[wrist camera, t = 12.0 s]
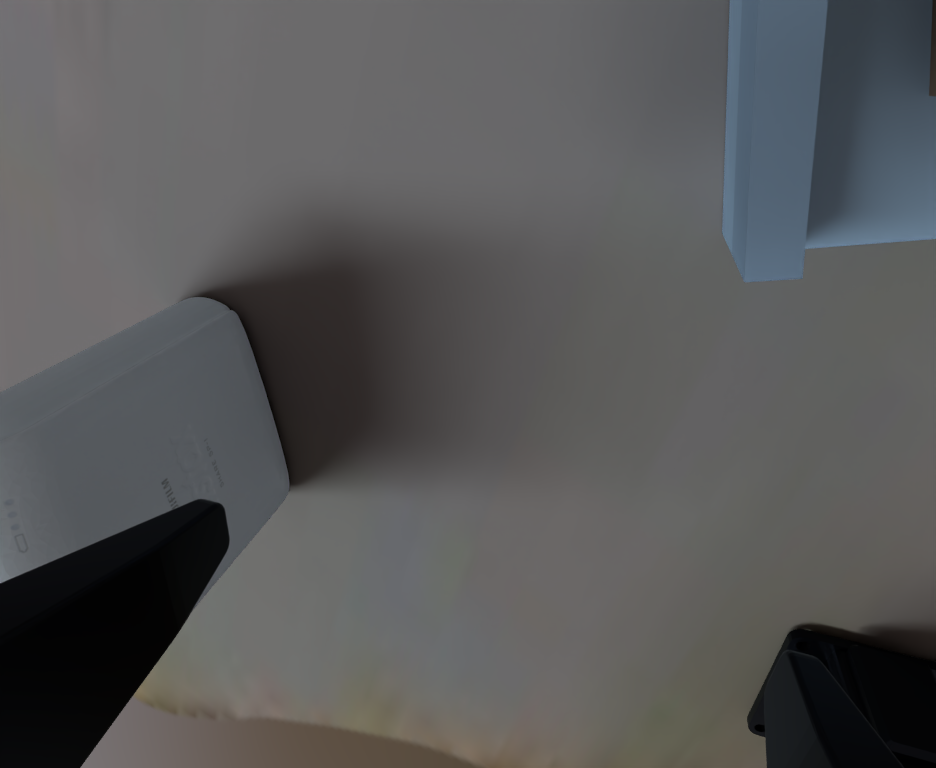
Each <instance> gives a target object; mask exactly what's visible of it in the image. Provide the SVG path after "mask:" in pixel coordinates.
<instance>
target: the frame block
mask: <svg viewBox="0 0 936 768" xmlns="http://www.w3.org/2000/svg"><path fill="white" fill-rule="evenodd" d="M929 96H936V0H933V3H932V31H931V58H930V85H929Z"/></svg>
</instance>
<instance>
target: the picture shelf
mask: <svg viewBox="0 0 936 768" xmlns="http://www.w3.org/2000/svg"><path fill="white" fill-rule="evenodd" d="M932 3H933V0H730V10H729V41H728V72H727V103H726V133H725V164H724V195H723V226H722V234H723V236H724V238H725V240H726V242H727V245H728V247H729V249H730V251H731V254H732V256H733V258H734V260H735V262H736V265H737V267H738V269H739V271H740V273H741V276H742V278H743V280H744V282H756V281H772V280H788V279H802V276H803V266H804V255H805V249H809V248H822V247H835V246H848V245H861V244H875V243H888V242H901V241H914V240H927V239H936V96H929V85H930V58H931V31H932Z"/></svg>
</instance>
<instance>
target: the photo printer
mask: <svg viewBox="0 0 936 768" xmlns="http://www.w3.org/2000/svg"><path fill="white" fill-rule="evenodd" d="M288 492H289V475H288V470H287V466H286V462H285V458H284V454H283V450H282V446H281V443H280V439H279V435H278V432H277V428H276V425H275V422H274V418H273V415H272V412H271V408H270V405H269V402H268V398H267V395H266V392H265V388H264V385H263V382H262V379H261V376H260V373H259V370H258V367H257V364H256V361H255V358H254V355H253V352H252V349H251V346H250V343H249V340H248V337H247V335H246V332H245V330H244V327H243V325H242V323H241V321H240V319H239V317H238V315H237V314H236V312H235V311H233V310H230V309H229V308H228V307H227V306H226V305H224V304H222V303H220V302H218V301H216V300H213V299H209V298H205V297H192V298H187V299H185V300H182V301H180V302H178V303H176V304H174V305H172V306H170V307H168V308H166V309H165V310H163V311H161V312H159V313H157V314H155V315H153V316H151V317H149V318H147V319H145V320H143V321H141V322H139V323H137V324H135V325H133V326H131V327H129V328H127V329H125V330H123V331H121V332H119V333H117V334H115V335H113V336H111V337H109V338H107V339H105V340H103V341H101V342H99V343H97V344H95V345H93V346H91V347H89V348H87V349H85V350H83V351H82V352H80V353H78V354H76V355H74V356H72V357H70V358H68V359H66V360H64V361H62V362H60V363H58V364H56V365H54V366H52V367H50V368H48V369H46V370H44V371H42V372H40V373H38V374H36V375H34V376H32V377H30V378H28V379H26V380H24V381H22V382H20V383H18V384H16V385H14V386H12V387H10V388H8V389H6V390H4V391H2V392H0V583H2V582H4V581H7V580H9V579H11V578H14V577H16V576H18V575H21V574H23V573H25V572H28V571H30V570H32V569H35V568H37V567H39V566H42V565H44V564H47V563H49V562H51V561H54V560H56V559H58V558H61V557H63V556H65V555H68V554H70V553H72V552H75V551H77V550H79V549H82V548H84V547H86V546H89V545H91V544H93V543H96V542H98V541H100V540H103V539H105V538H107V537H110V536H112V535H114V534H117V533H119V532H121V531H124V530H126V529H128V528H131V527H133V526H136V525H138V524H140V523H143V522H145V521H147V520H150V519H152V518H154V517H157V516H159V515H161V514H164V513H166V512H168V511H171V510H173V509H175V508H178V507H180V506H182V505H185V504H187V503H189V502H192V501H194V500H197V499H206V500H210V501H214V502H218V503H220V504H222V505H223V507H224V508H225V512H226V518H227V524H228V530H229V536H230V542H229V547H228V550H227V552H226V554H225V556H224V558H223V560H222V561H221V563H220V565H219V566H218V568H217V570H216V571H215V573H214V575H213V576H212V578H211V580H210V581H209V583H208V585H207V587H206V588H205V590H204V592H203V593H202V595H201V597H200V598H199V600H198V602H197V603H196V605H195V607H196V606H197V605H198V603H199V602H200V601H201V600H202V599H203V597H204V596H205V595H206V594H207V592H208V591H209V590H210V589H211V587H212V586H213V585H214V584H215V583H216V582H217V580H218V579H219V578H220V577H221V576H222V575H223V573H224V572H225V571H226V570H227V569H228V567H229V566H230V565H231V564H232V563H233V561H234V560H235V559H236V558H237V557H238V555H239V554H240V553H241V552H242V551H243V549H244V548H245V547H246V546H247V545H248V544H249V542H250V541H251V540H252V539H253V538H254V536H255V535H256V534H257V533H258V532H259V530H260V529H261V528H262V527H263V526H264V525H265V523H266V522H267V521H268V520H269V519H270V517H271V516H272V515H273V513H274V512H275V511H276V510H277V509H278V507H279V506H280V505H281V504H282V502H283V501H284V500H285V498H286V496H287V495H288ZM195 607H194V608H195ZM194 608H193V609H194Z"/></svg>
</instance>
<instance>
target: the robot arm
mask: <svg viewBox="0 0 936 768" xmlns="http://www.w3.org/2000/svg"><path fill="white" fill-rule="evenodd" d="M229 542H230V536H229V530H228V524H227V518H226V512H225V508H224V507H223V505H222V504H220V503H218V502H214V501H210V500H206V499H197V500H194V501H192V502H189V503H187V504H185V505H182V506H180V507H178V508H175V509H173V510H171V511H168V512H166V513H164V514H161V515H159V516H157V517H154V518H152V519H150V520H147V521H145V522H143V523H140V524H138V525H136V526H133V527H131V528H128V529H126V530H124V531H121V532H119V533H117V534H114V535H112V536H110V537H107V538H105V539H103V540H100V541H98V542H96V543H93V544H91V545H89V546H86V547H84V548H82V549H79V550H77V551H75V552H72V553H70V554H68V555H65V556H63V557H61V558H58V559H56V560H54V561H51V562H49V563H47V564H44V565H42V566H39V567H37V568H35V569H32V570H30V571H28V572H25V573H23V574H21V575H18V576H16V577H14V578H11V579H9V580H7V581H4V582H2V583H0V768H80V767H81V766H82V764H83V763H84V762H85V760H86V759H87V758H88V756H89V755H90V754H91V752H92V751H93V749H94V748H95V747H96V745H97V744H98V743H99V741H100V740H101V738H102V737H103V736H104V734H105V733H106V732H107V730H108V729H109V728H110V726H111V725H112V723H113V722H114V721H115V719H116V718H117V717H118V715H119V713H121V711H122V710H123V708H124V707H125V706H126V704H127V703H128V702H129V700H130V699H131V697H132V696H133V695H134V693H135V692H136V691H137V689H138V688H139V687H140V685H141V684H142V682H143V681H144V680H145V678H146V677H147V676H148V674H149V673H150V671H151V670H152V669H153V667H154V666H155V665H156V663H157V662H158V661H159V659H160V658H161V656H162V655H163V654H164V652H165V651H166V650H167V648H168V647H169V645H170V644H171V643H172V641H173V640H174V638H175V637H176V635H177V634H178V633H179V631H180V630H181V628H182V626H183V625H184V623H185V622H186V620H187V619H188V617H189V615H190V613H191V612H192V610H193V608H194V607H195V605H196V603H197V602H198V600H199V598H200V597H201V595H202V593H203V592H204V590H205V588H206V587H207V585H208V583H209V581H210V580H211V578H212V576H213V575H214V573H215V571H216V570H217V568H218V566H219V565H220V563H221V561H222V560H223V558H224V556H225V554H226V552H227V550H228V547H229ZM801 642H803V643H801ZM747 722H748V728H749V730H750V731H751V732H752V733H754V734H756V735H759V736H763V737H766V758H767V768H936V662H932V661H928V660H924V659H920V658H916V657H912V656H908V655H904V654H900V653H896V652H892V651H888V650H884V649H880V648H876V647H872V646H868V645H864V644H860V643H856V642H852V641H848V640H844V639H840V638H836V637H832V636H828V635H824V634H820V633H816V632H812V631H808V630H804V629H796V630H793V631H791V632H789V634H788V635H787V637H786V639H785V641H784V643H783V645H782V647H781V649H780V651H779V653H778V655H777V657H776V659H775V661H774V663H773V665H772V668H771V670H770V672H769V674H768V676H767V678H766V680H765V682H764V684H763V686H762V688H761V690H760V692H759V694H758V696H757V698H756V700H755V702H754V704H753V706H752V708H751V710H750V712H749V714H748V716H747Z"/></svg>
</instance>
